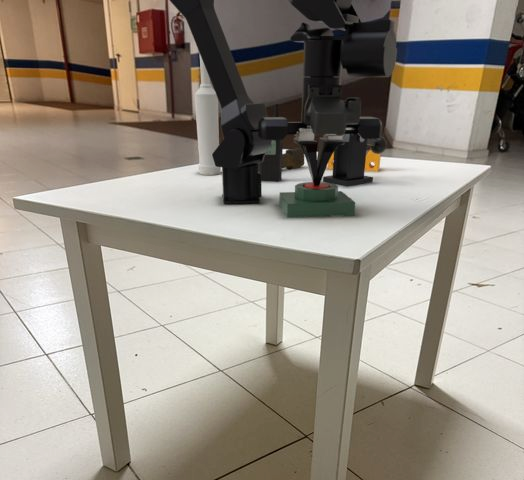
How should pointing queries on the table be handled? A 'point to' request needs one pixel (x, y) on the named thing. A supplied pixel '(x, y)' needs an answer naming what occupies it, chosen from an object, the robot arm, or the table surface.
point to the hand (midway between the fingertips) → (316, 185)
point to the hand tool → (292, 159)
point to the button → (316, 186)
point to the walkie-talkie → (272, 159)
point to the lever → (372, 144)
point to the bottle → (207, 123)
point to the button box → (316, 202)
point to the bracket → (349, 163)
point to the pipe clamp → (369, 158)
